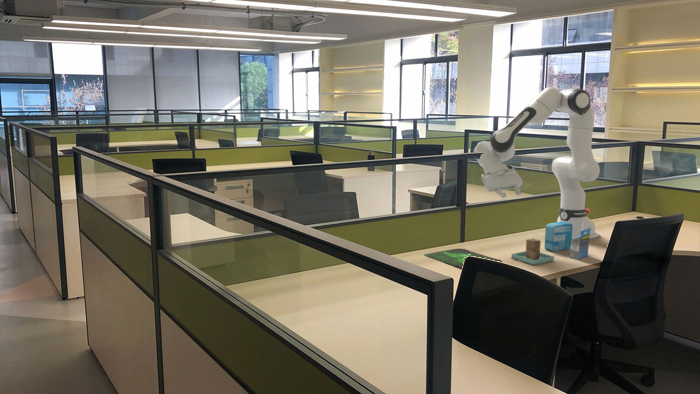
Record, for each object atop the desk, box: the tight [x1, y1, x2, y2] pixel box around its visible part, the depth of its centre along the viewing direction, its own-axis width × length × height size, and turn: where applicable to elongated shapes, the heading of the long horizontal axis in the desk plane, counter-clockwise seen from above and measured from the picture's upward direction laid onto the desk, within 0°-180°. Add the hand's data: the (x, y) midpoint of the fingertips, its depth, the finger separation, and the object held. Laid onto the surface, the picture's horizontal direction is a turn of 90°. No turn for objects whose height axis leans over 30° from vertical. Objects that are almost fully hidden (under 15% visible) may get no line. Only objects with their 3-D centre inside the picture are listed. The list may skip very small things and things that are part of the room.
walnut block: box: [525, 238, 542, 260], centre depth 239 cm, size 4×4×8 cm
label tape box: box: [570, 228, 590, 260], centre depth 243 cm, size 9×4×12 cm, turn 133°
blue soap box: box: [544, 221, 573, 253], centre depth 255 cm, size 12×4×12 cm, turn 116°
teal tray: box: [511, 250, 555, 266], centre depth 239 cm, size 12×12×2 cm
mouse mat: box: [423, 247, 503, 270], centre depth 242 cm, size 27×22×1 cm
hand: (512, 195), depth 254 cm, fingers open, 8 cm apart
